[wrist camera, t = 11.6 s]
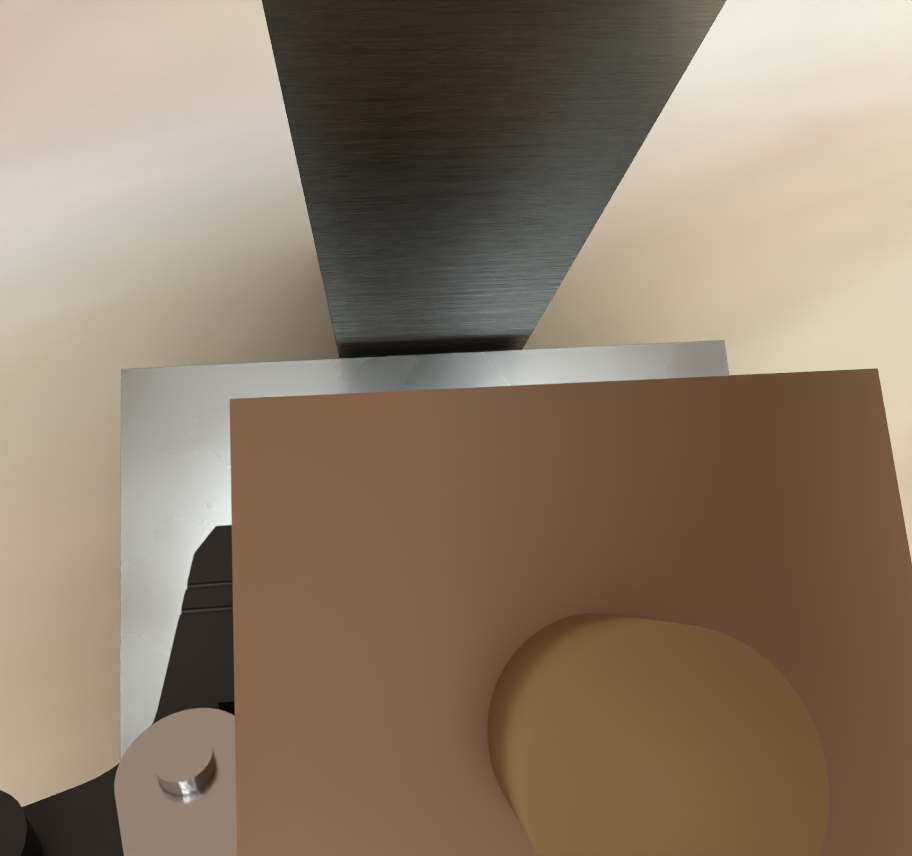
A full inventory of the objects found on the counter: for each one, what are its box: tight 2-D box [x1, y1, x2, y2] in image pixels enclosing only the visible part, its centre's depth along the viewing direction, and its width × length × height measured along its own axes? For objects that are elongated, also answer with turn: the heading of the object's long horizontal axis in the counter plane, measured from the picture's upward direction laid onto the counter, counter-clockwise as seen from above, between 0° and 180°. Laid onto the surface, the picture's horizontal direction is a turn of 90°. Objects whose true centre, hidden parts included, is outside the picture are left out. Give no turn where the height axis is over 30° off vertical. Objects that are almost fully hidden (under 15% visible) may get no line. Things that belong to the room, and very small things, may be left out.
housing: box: [230, 369, 912, 856], centre depth 10 cm, size 5×5×12 cm
